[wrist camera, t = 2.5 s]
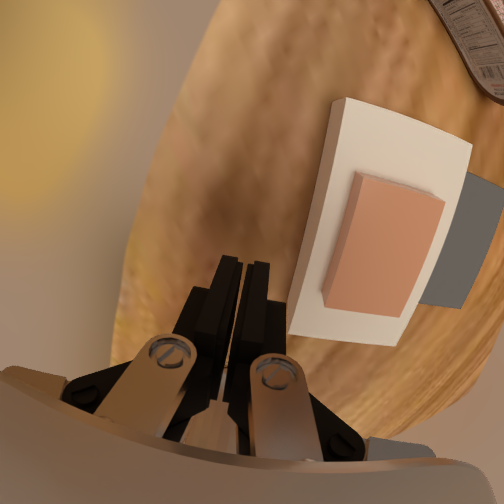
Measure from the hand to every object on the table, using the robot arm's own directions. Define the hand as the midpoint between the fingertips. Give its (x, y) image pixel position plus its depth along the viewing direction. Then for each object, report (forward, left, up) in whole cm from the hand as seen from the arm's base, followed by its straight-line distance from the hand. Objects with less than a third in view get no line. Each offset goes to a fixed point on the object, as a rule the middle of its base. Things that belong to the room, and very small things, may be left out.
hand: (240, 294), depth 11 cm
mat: (-1, -19, -15) cm, 24 cm away
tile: (-1, -9, -10) cm, 13 cm away
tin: (+19, -14, -15) cm, 28 cm away
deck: (-1, -9, -15) cm, 17 cm away
